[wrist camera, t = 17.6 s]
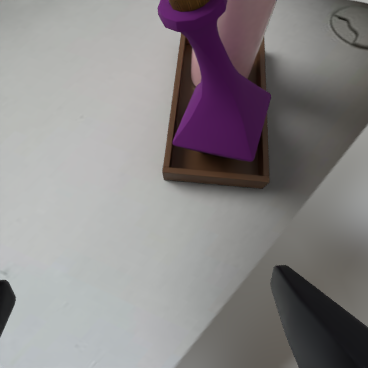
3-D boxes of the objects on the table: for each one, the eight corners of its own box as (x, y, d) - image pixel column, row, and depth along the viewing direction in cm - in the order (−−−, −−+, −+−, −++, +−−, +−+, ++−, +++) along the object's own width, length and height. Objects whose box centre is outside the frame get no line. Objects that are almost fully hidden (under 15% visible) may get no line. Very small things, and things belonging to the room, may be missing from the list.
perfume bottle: (178, 161, 24) (75, -96, 8) (200, 107, 27) (156, -173, 10) (250, 178, 22) (310, -130, 6) (266, 117, 24) (341, -218, 8)
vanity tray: (262, 188, 23) (269, 182, 22) (163, 179, 24) (162, 172, 22) (259, 50, 30) (264, 36, 28) (181, 44, 30) (181, 29, 28)
